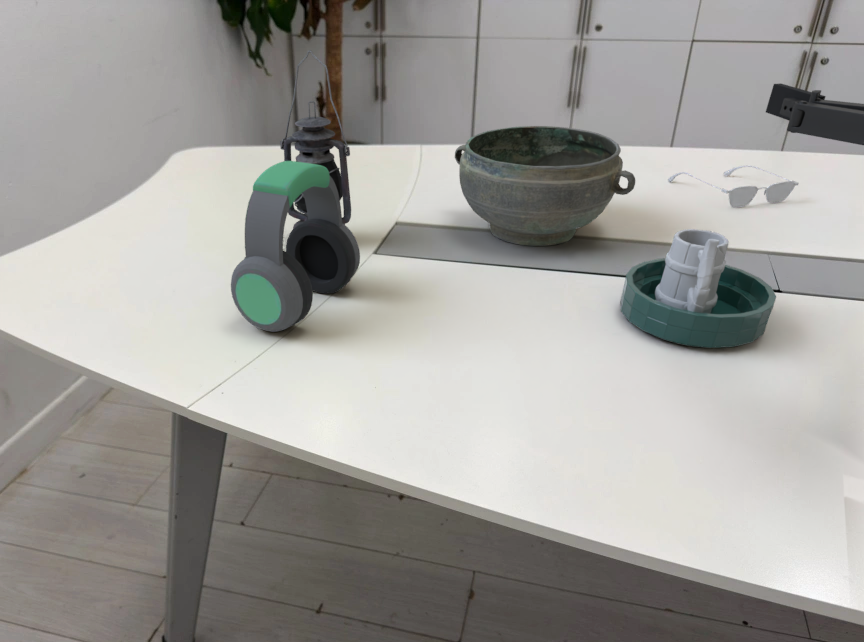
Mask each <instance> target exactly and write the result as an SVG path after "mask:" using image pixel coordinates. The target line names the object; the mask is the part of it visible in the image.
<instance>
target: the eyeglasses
mask: <svg viewBox="0 0 864 642" xmlns="http://www.w3.org/2000/svg"><path fill="white" fill-rule="evenodd" d="M742 168H753V169H756V170H760V171H763V172H766V173H769V174H771V175H774V176H776V177H778V178H781V179H784V180H785V181H780V182H775V183H772V184H769V185H768V186H767V187H764V186H762V187H758V186H756V185H743V186H737V187H733V188H732V189H725V188H720V187H718V186H716V185H713V184H712V183H711V184H710V183H709V182H706V181H704V180H702V179H700V178H698V177H696V176H694V175H693V174H691V173H689V172H686V171H682V172H678V173H675V174H673V175H671V176H670V177H668V179H667V181H668V182H669V183H672V182H673V181H674V180H675V178H676V177H678V176H679V175H688V176H690V177H691V178H695V179H697V180H699V181H701V182H703V183H705V184H706V185H709V186H711V187H714V188H715V189H719V190H720V191H721V192H722V193H723V194H728V202H729V205H730V207H731V208H742V207H746V206H747V205H749V204H750V203H751V202H752V201H753V200H754V198H755V196H756V195H757V194H758V192H759V190H763V189H764V191H763V196H765V198H766V201H767V203H770V204H778V203H781V202H783V201H785V200H786V199H787V198H788V197H789V196H790V194H791V193H793V192H792V191H793V190H794V188H795V187H796V186H799V182H798V181H796V180H790V179H787V178H785V177H782V176H780V175H778V174H775V173H773V172H770V171H767V170H765V169H763V168H761V167H757V166H755V165H739V166H735V167H733V168H729V169H728V170H725V171H724V172H723V175H724V176H727V177H728V176H731V175H732V173H734V172H735V171H737V170H738V169H742ZM728 171H729V172H728Z"/></svg>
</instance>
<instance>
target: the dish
mask: <svg viewBox="0 0 864 642" xmlns="http://www.w3.org/2000/svg"><path fill="white" fill-rule="evenodd" d="M665 259H666V257H665V258H664V257H663V258H656V259H650V260H646V261H645V260H644V261H642V262H640V263H638V264H636V265H633V266H632V267H631V268H630V269H629V270H628V272H627V273H626V275H625V278H624V283H623V288H622V292H621V296H620V302H619V303H620V304H619V305H620V312H621V313H622V314H623V316H624V317H625V318H626V319H627V321H628V322H629V323H631V324H632V325H634V326H635V327H636V328H638V329H640V330H641V331H643V332H645V333H647V334H649V335H651V336H653V337H655V338H657V339H658V338H659V339H660V340H663V341H666V342H670V343H672V344H673V343H674V344H676V345H682V346H688V347H694V348H704V349H705V348H707V349H717V348H733V347H734V348H735V347H738V346H739V347H740V346H742V345H746V344H750V343H753V342H755V341H756V340H757V339H759V338H760V337H762V336H764V333H765V331H766V328H767V325H768V322H769V319H770V317H771V314H772V311H773V308H774V305H775V303H776V299H777V295H776V292H775V291H774V289H773V287H772V286H771V285H770V284H768V283H767V281H765V280H763V279H762V278H760V277H759V276H756V275H754V274H753V273H749V272H748V271H746V270H744V269H742V268H738V267H735V266H731V265H728V264H725V268H724V271H723V272H722V273H721V275H720V279H719V282H718V287H717V291H716V294H717V297H718V298H717V303H716V305H715V306H714V307H713V308H712V310H711V313H710V314H708V313H698V312H693V311H688V310H684V309H679V308H675V307H672V306H669V305H666V304H664V303H661V302H658V301H656V300H655V299H656V298H655V290H656V287H657V286H658V285H659V284H660V282H661V279H662V276H663V272H664V269H665V266H666V263H665Z"/></svg>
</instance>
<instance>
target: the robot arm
mask: <svg viewBox="0 0 864 642" xmlns="http://www.w3.org/2000/svg"><path fill="white" fill-rule="evenodd" d="M821 93H822V90H819V89H813V90H812V91H809V90H806V89H801V88H799V87H794V86H791V85H788V84H785V83H773V86H772V89H771V93H770V96H769V99H768V102H767V106H766V109H765V113H766V114H769V115H772V116H775V117H778V118H780V119H783V120H787V121H789V122H788V125H787V127H786V131H787V132H790V133H792V134H799V135H800V134H801V135H807V136H812V137H816V138H817V137H818V138H822V139H828V140H833V141H837V142H844V143H848V144H855V145H858V146H864V103H861V102H850V101H840V100H831V99H830V100H829V99H826V97H827V96H826V95H823V94H821Z"/></svg>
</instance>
